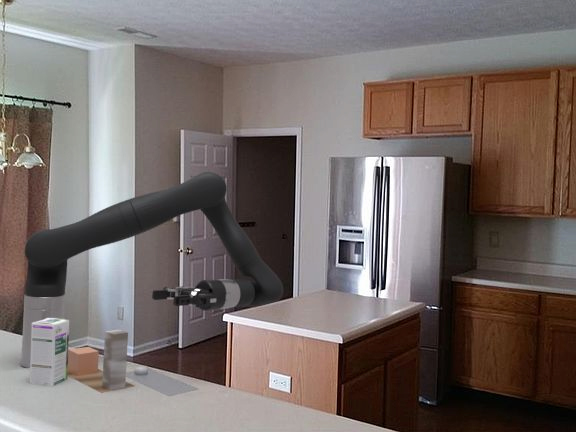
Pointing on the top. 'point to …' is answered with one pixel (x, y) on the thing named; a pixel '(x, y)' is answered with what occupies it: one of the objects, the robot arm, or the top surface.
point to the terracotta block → (83, 361)
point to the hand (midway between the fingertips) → (163, 298)
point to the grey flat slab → (159, 381)
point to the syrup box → (49, 351)
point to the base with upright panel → (110, 365)
